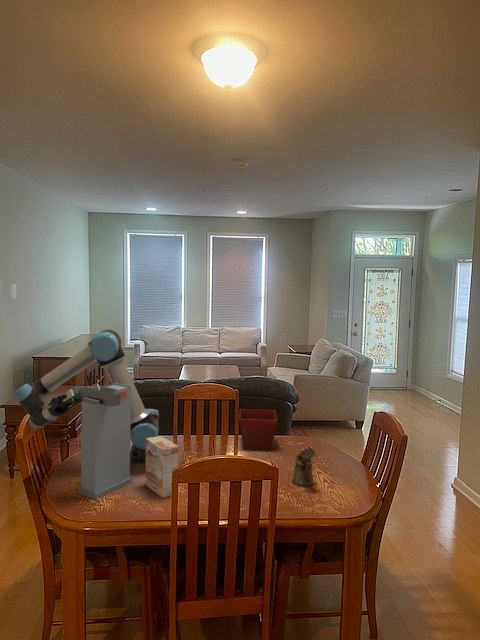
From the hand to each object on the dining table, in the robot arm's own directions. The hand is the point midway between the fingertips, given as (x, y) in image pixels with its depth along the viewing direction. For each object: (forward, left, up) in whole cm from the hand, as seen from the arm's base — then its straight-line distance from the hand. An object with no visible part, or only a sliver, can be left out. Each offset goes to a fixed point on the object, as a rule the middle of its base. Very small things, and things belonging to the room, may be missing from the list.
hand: (85, 389), depth 184 cm
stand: (-8, +2, -40) cm, 41 cm away
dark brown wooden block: (-4, +4, -4) cm, 6 cm away
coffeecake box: (-30, +7, -40) cm, 50 cm away
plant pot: (-82, -37, -40) cm, 98 cm away
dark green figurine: (-89, +12, -40) cm, 98 cm away
